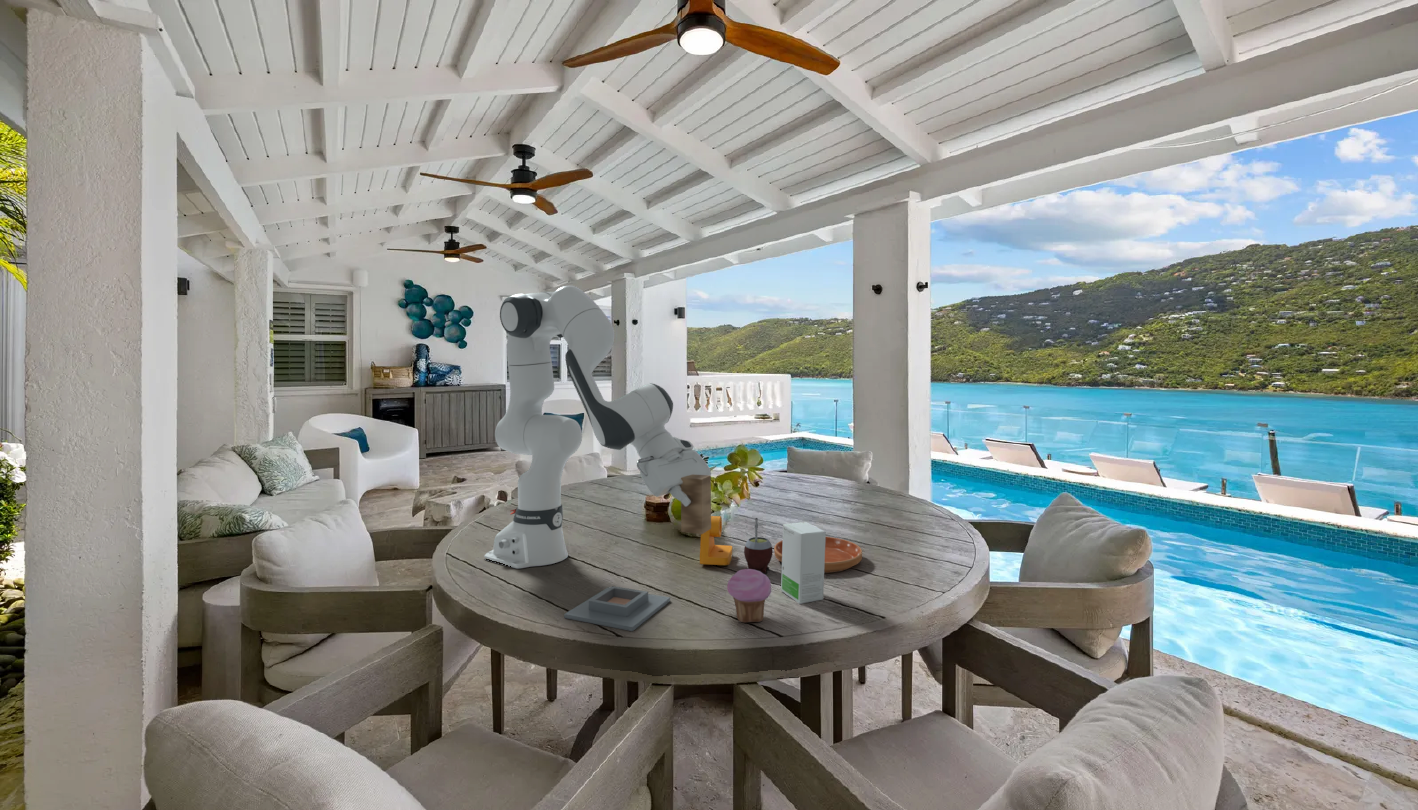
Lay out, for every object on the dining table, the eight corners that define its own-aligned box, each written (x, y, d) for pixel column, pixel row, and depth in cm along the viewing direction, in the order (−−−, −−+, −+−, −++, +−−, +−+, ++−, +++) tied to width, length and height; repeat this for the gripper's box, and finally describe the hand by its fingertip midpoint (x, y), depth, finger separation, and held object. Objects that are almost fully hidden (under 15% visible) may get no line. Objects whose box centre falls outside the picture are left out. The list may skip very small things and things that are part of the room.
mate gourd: (760, 564, 148) (760, 507, 148) (780, 573, 142) (780, 513, 141) (737, 570, 144) (737, 511, 144) (756, 579, 138) (756, 518, 137)
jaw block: (681, 531, 126) (680, 477, 125) (691, 526, 131) (690, 474, 130) (702, 534, 124) (701, 479, 124) (711, 528, 129) (710, 475, 128)
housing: (564, 617, 117) (564, 604, 116) (608, 590, 131) (607, 578, 131) (632, 631, 110) (632, 617, 110) (670, 601, 125) (670, 588, 125)
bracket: (727, 568, 146) (727, 522, 145) (699, 567, 147) (699, 521, 147) (732, 555, 157) (732, 512, 156) (706, 554, 158) (706, 511, 157)
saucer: (845, 582, 136) (845, 567, 136) (759, 566, 148) (759, 552, 148) (872, 556, 155) (873, 543, 155) (794, 544, 167) (794, 531, 167)
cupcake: (730, 629, 111) (730, 578, 110) (725, 611, 119) (724, 563, 119) (775, 627, 112) (775, 576, 111) (767, 609, 120) (766, 562, 120)
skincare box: (780, 591, 130) (780, 523, 129) (805, 587, 133) (805, 520, 132) (800, 605, 122) (800, 533, 122) (826, 600, 125) (826, 529, 124)
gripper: (641, 450, 121) (679, 501, 117) (694, 440, 139) (729, 484, 134) (625, 469, 124) (662, 520, 119) (679, 457, 141) (713, 501, 137)
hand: (698, 501), depth 127 cm, fingers closed on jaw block, 5 cm apart
